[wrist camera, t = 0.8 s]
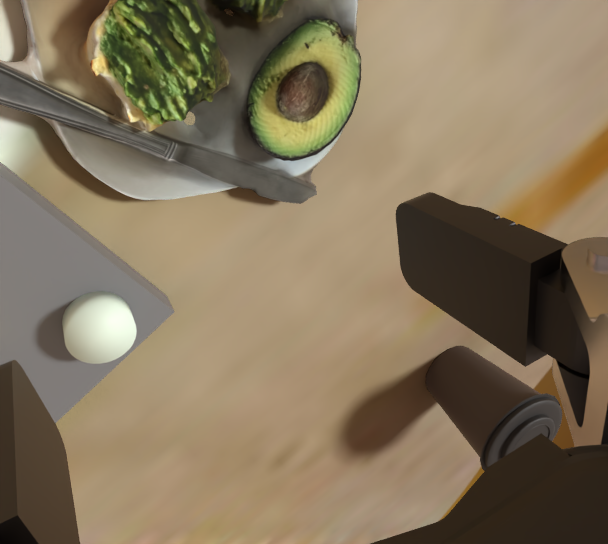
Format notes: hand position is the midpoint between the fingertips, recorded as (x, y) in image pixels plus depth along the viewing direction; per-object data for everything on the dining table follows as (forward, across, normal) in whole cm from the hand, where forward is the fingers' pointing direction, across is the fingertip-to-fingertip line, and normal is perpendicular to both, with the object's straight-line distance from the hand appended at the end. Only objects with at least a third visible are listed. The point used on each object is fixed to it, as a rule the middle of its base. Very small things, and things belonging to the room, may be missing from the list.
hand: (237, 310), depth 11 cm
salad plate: (+21, -7, -3) cm, 22 cm away
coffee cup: (+21, -22, +29) cm, 42 cm away
